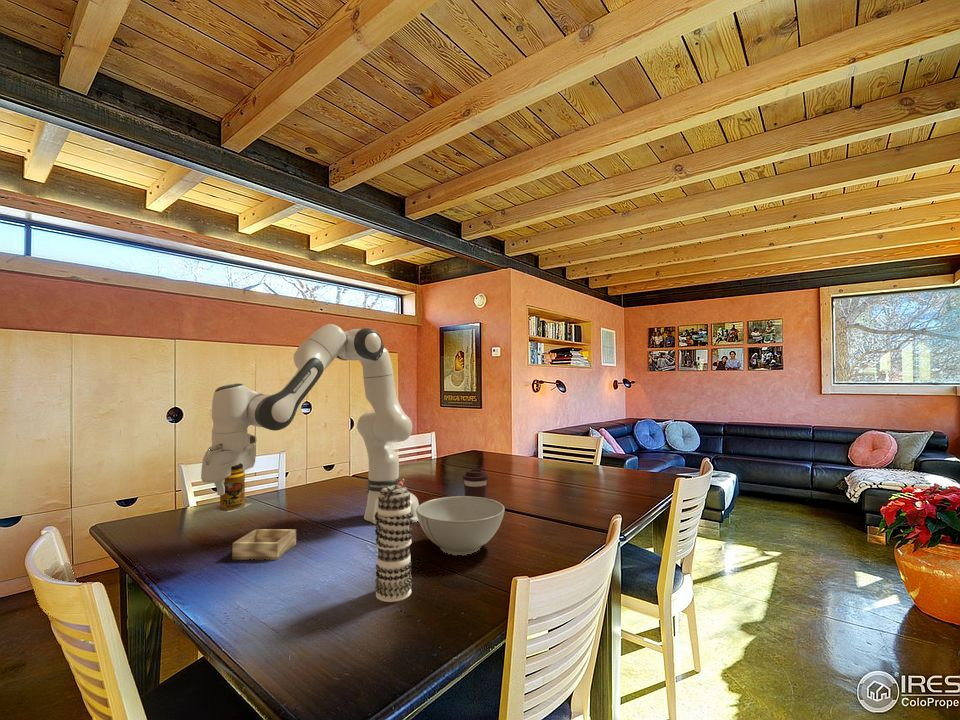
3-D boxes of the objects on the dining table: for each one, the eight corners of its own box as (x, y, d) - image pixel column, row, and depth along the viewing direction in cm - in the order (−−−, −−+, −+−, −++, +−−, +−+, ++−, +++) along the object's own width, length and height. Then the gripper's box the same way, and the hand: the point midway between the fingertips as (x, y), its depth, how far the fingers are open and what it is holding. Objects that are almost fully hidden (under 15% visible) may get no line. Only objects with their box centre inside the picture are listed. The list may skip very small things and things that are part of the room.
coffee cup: (465, 505, 179) (465, 468, 180) (489, 506, 178) (489, 468, 179) (460, 512, 169) (460, 473, 170) (486, 513, 168) (486, 473, 169)
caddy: (296, 544, 137) (296, 529, 137) (277, 559, 125) (277, 543, 125) (254, 543, 137) (255, 529, 138) (232, 559, 125) (232, 543, 126)
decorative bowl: (399, 558, 126) (399, 515, 126) (439, 528, 151) (439, 493, 151) (487, 572, 117) (487, 525, 117) (515, 538, 142) (514, 500, 142)
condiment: (231, 512, 120) (231, 467, 120) (207, 510, 122) (207, 466, 122) (252, 504, 127) (252, 462, 127) (229, 502, 129) (229, 461, 129)
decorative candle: (377, 606, 99) (378, 493, 100) (370, 588, 108) (371, 485, 109) (417, 598, 103) (417, 489, 104) (407, 581, 111) (408, 481, 112)
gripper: (218, 447, 114) (218, 501, 114) (259, 436, 134) (259, 481, 134) (194, 448, 114) (194, 501, 114) (239, 436, 135) (239, 482, 134)
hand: (230, 490), depth 124 cm, fingers closed on condiment, 6 cm apart
